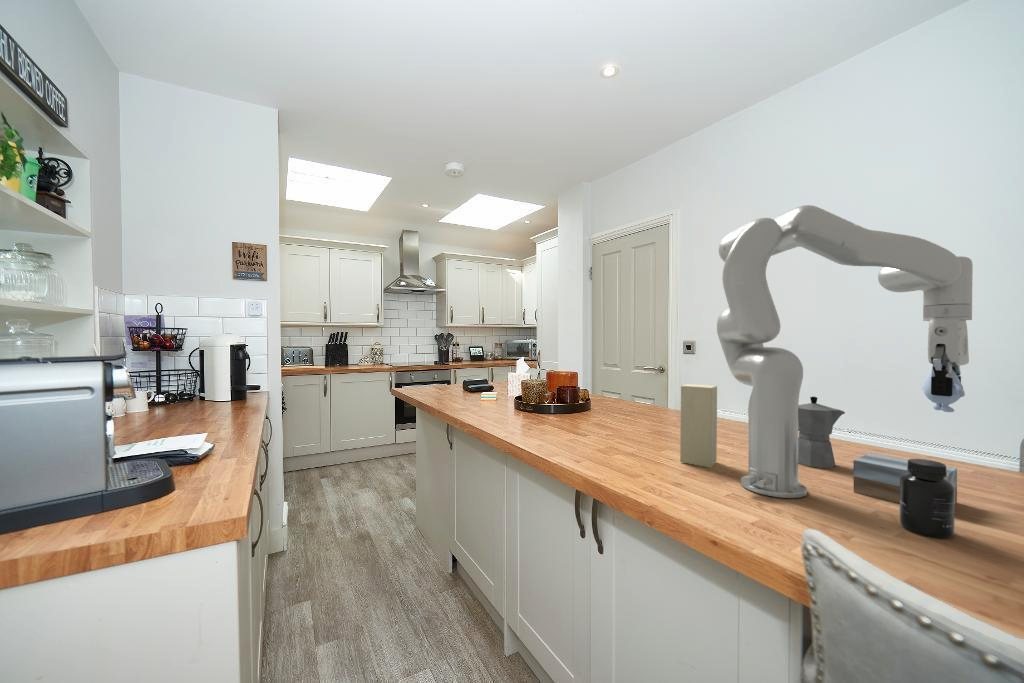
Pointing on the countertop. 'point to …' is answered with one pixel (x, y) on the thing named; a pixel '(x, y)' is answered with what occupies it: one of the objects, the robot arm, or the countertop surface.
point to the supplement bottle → (927, 499)
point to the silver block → (886, 476)
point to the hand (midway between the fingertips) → (946, 393)
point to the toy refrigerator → (698, 424)
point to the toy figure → (944, 400)
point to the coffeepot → (816, 434)
